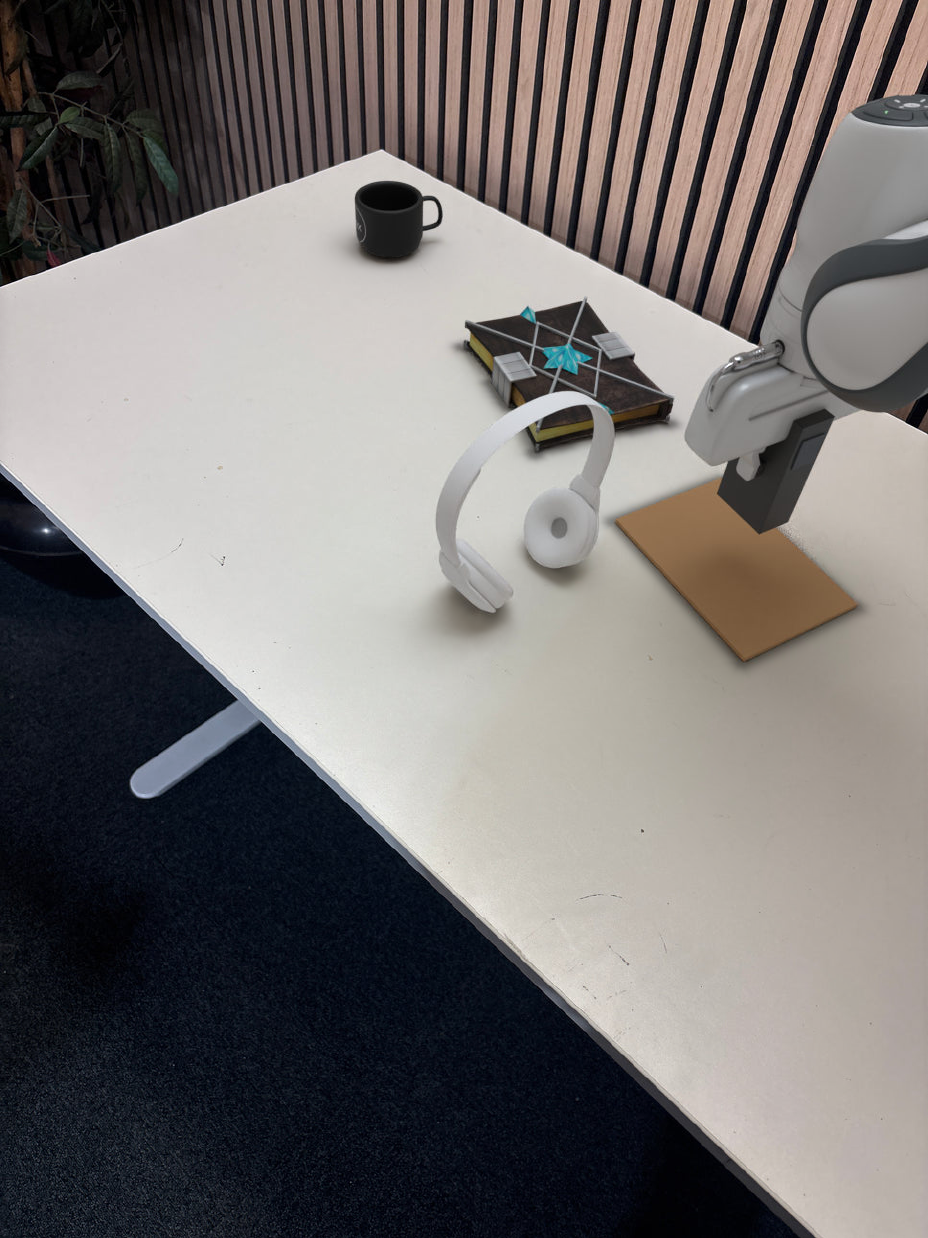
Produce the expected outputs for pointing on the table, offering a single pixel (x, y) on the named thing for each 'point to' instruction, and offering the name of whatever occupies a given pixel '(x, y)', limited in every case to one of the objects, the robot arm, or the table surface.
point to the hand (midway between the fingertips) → (769, 466)
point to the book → (566, 369)
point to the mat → (735, 570)
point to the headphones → (554, 520)
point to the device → (777, 475)
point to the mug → (391, 218)
